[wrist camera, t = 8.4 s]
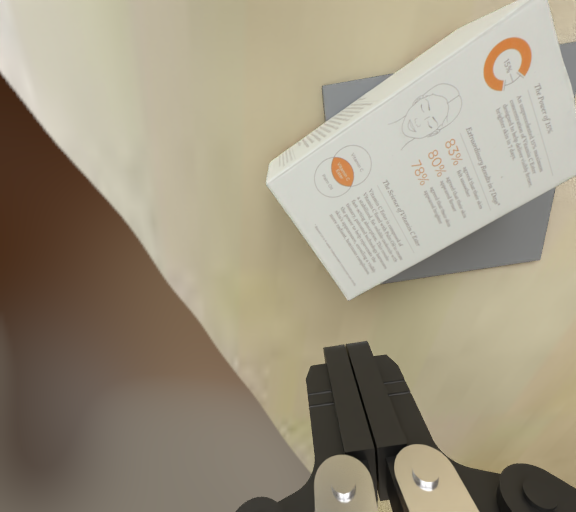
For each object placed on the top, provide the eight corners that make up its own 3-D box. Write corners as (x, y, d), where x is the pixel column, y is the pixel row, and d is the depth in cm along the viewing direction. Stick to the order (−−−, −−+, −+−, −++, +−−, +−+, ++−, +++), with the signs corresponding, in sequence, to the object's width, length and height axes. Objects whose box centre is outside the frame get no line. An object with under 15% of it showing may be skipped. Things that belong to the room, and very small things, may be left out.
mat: (321, 86, 19) (322, 85, 18) (580, 41, 18) (586, 39, 18) (341, 287, 25) (342, 289, 24) (536, 257, 24) (540, 259, 24)
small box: (330, 255, 23) (506, 152, 20) (347, 305, 17) (595, 170, 15) (266, 160, 20) (462, 23, 17) (261, 182, 14) (552, -18, 12)
